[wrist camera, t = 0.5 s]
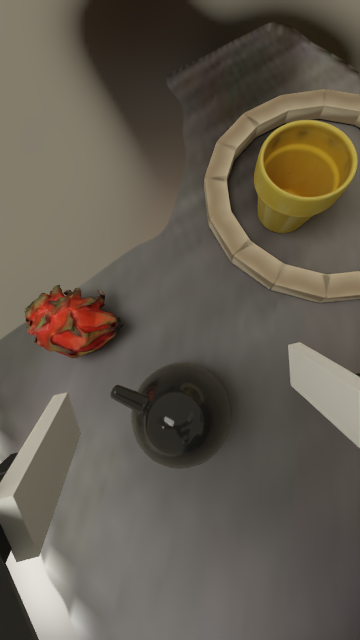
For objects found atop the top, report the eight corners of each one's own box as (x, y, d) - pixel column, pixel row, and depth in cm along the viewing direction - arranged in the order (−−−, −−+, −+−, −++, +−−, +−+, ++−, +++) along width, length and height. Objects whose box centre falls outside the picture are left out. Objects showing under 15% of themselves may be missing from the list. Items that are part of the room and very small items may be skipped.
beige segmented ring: (496, 230, 35) (567, 193, 28) (282, 344, 34) (303, 334, 27) (347, 74, 43) (375, 15, 36) (168, 161, 41) (162, 117, 35)
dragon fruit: (46, 321, 39) (129, 331, 39) (16, 367, 32) (116, 379, 33) (32, 269, 33) (130, 282, 34) (-7, 313, 27) (114, 328, 27)
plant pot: (322, 246, 37) (365, 198, 27) (245, 246, 37) (260, 200, 28) (316, 181, 39) (353, 116, 30) (243, 183, 40) (257, 120, 30)
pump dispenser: (165, 351, 35) (139, 326, 20) (240, 388, 33) (272, 390, 18) (127, 425, 33) (69, 459, 18) (204, 469, 31) (208, 544, 17)
